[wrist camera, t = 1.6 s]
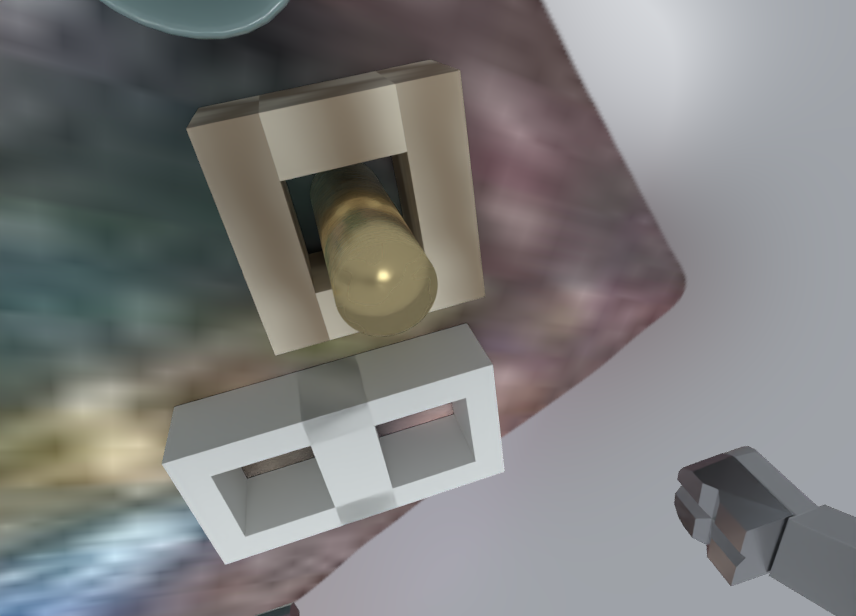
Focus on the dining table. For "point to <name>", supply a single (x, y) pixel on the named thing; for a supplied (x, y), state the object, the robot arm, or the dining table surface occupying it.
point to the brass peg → (370, 253)
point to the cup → (200, 16)
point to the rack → (336, 442)
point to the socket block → (329, 149)
